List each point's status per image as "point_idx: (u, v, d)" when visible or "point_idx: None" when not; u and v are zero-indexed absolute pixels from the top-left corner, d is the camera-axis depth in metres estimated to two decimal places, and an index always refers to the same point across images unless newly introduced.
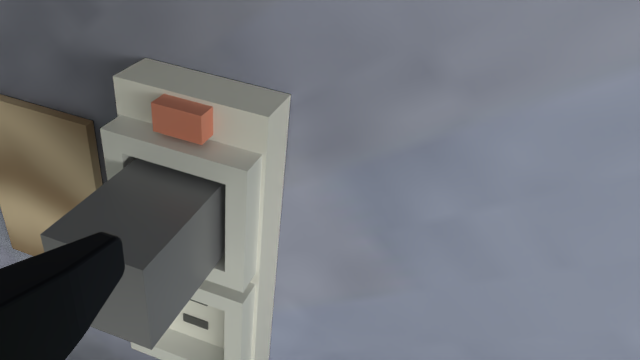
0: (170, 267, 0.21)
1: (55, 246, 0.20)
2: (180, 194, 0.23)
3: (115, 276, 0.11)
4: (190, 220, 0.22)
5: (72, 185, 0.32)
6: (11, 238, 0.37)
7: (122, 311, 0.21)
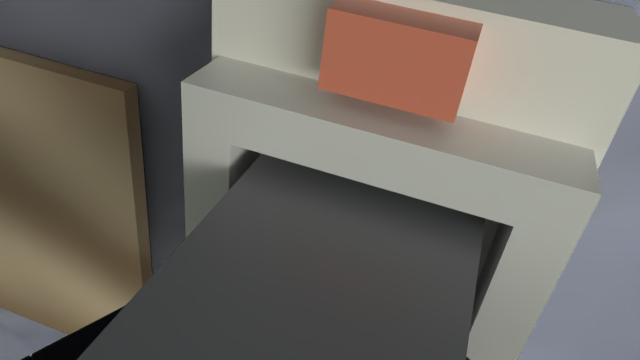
0: None
1: None
2: (403, 252, 0.09)
3: None
4: (467, 338, 0.07)
5: (91, 205, 0.17)
6: None
7: None
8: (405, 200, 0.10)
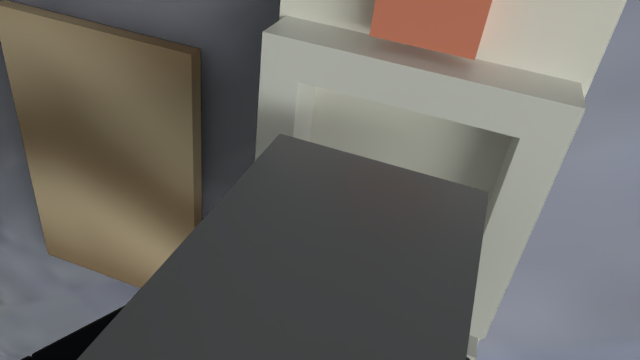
0: None
1: None
2: (403, 252, 0.09)
3: None
4: (467, 338, 0.07)
5: (154, 158, 0.20)
6: (47, 239, 0.25)
7: None
8: (405, 200, 0.10)
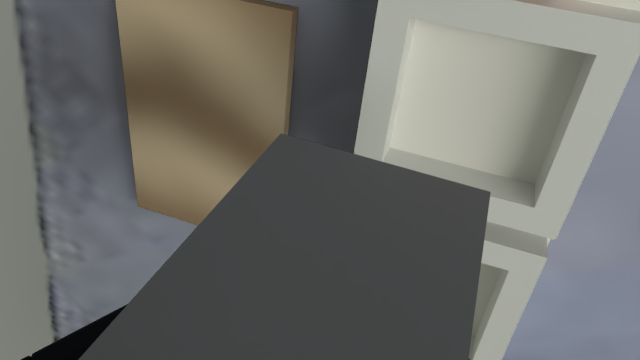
0: None
1: None
2: (404, 252, 0.09)
3: None
4: (469, 338, 0.07)
5: (249, 108, 0.23)
6: (138, 192, 0.28)
7: None
8: (407, 199, 0.10)
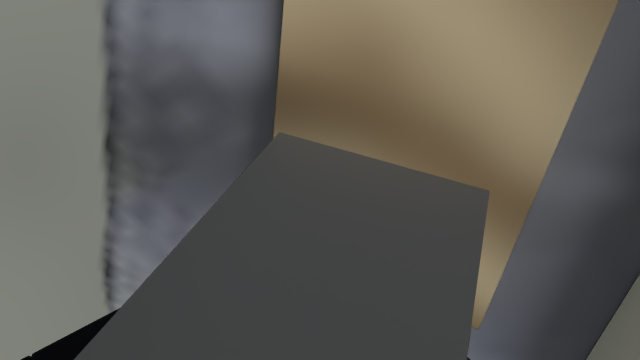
0: None
1: None
2: (403, 251, 0.09)
3: None
4: (467, 337, 0.07)
5: (495, 124, 0.14)
6: None
7: None
8: (405, 198, 0.10)
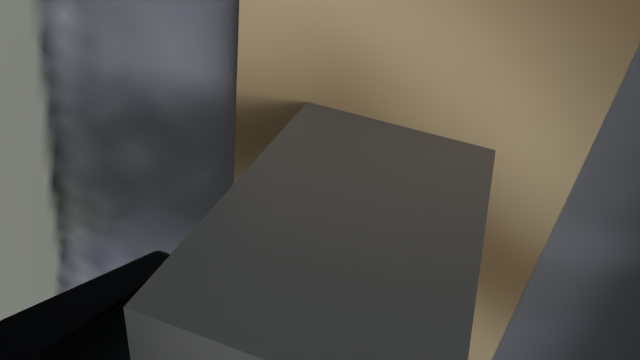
0: None
1: (166, 340, 0.07)
2: (422, 195, 0.10)
3: None
4: (479, 260, 0.09)
5: None
6: None
7: None
8: (422, 155, 0.11)
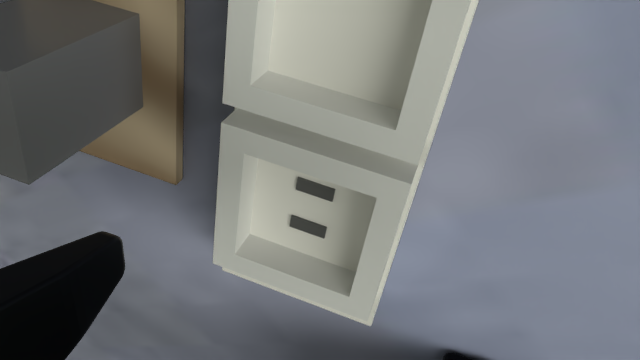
0: (50, 90, 0.19)
1: None
2: (73, 23, 0.20)
3: (115, 276, 0.11)
4: (78, 43, 0.19)
5: (141, 32, 0.23)
6: None
7: None
8: (92, 11, 0.22)
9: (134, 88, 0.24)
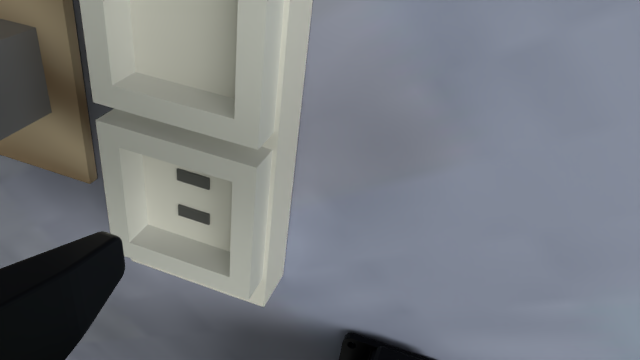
0: None
1: None
2: None
3: (115, 276, 0.11)
4: None
5: (40, 44, 0.25)
6: None
7: None
8: None
9: (38, 95, 0.26)
